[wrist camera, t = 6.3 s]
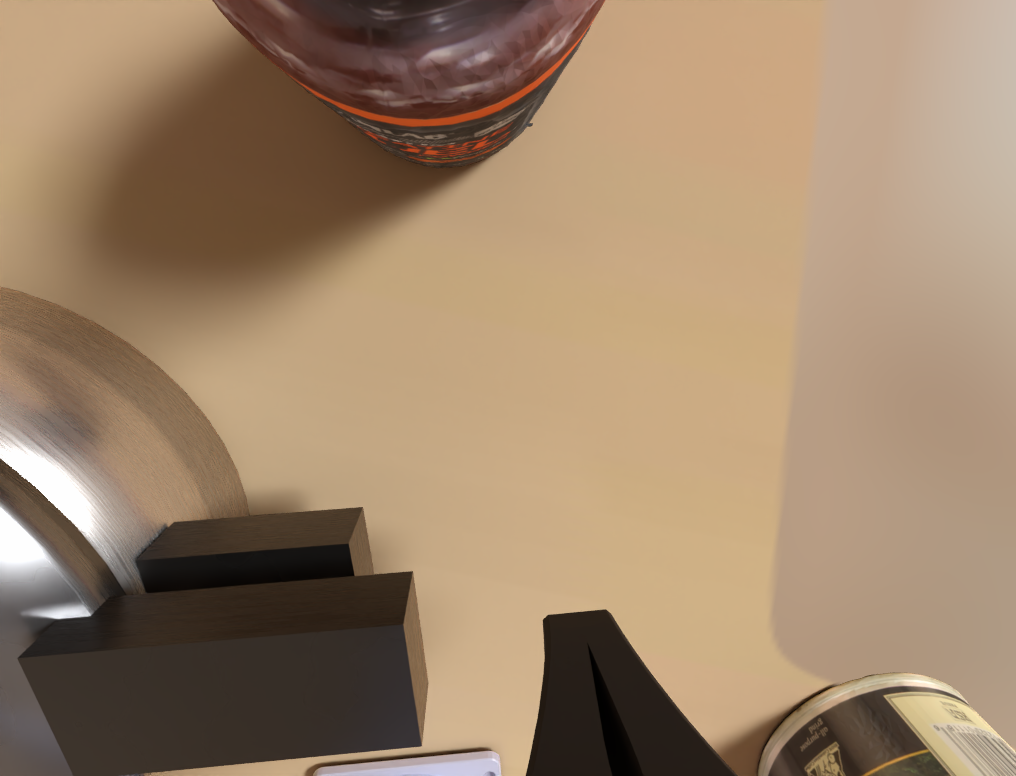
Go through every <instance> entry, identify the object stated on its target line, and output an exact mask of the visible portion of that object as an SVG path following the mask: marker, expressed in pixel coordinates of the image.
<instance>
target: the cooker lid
mask: <svg viewBox="0 0 1016 776" xmlns="http://www.w3.org/2000/svg"><path fill="white" fill-rule="evenodd" d="M427 691H428V678H427V670H426V663H425V656H424V649H423V641H422V634H421V627H420V620H419V612H418V605H417V598H416V591H415V583H414V576H413V571H411V572H399V573H387V574H375V575H363V576H351V577H339V578H327V579H315V580H303V581H291V582H279V583H267V584H255V585H243V586H231V587H219V588H207V589H195V590H183V591H171V592H159V593H147V594H135V595H126V593H125V592H124V590H123V589H122V587H121V585H120V584H119V582H118V581H117V579H116V577H115V576H114V574H113V573H112V571H111V570H110V568H109V566H108V565H107V564H106V562H105V561H104V560H103V559H102V557H101V556H100V555H99V554H98V553H97V551H96V550H95V549H94V548H93V546H92V545H91V544H90V543H89V542H88V540H87V539H86V538H85V537H84V536H83V534H82V533H81V532H80V531H79V529H78V528H77V527H76V526H75V525H74V524H73V523H72V522H71V521H70V520H69V519H68V518H67V517H66V516H65V515H64V514H63V513H62V512H61V511H60V510H59V509H58V508H57V507H56V506H55V505H54V504H53V503H52V502H51V501H50V500H49V499H48V498H47V497H46V496H45V495H44V494H43V493H41V492H40V491H39V490H38V489H37V488H36V487H35V486H34V485H33V484H32V483H31V482H29V481H28V480H27V479H26V478H24V477H23V476H22V475H21V474H19V473H18V472H17V471H15V470H14V469H13V468H12V467H10V466H9V465H8V464H7V463H5V462H4V461H3V460H2V459H0V776H150V774H151V773H152V772H162V771H172V770H183V769H193V768H203V767H214V766H224V765H234V764H244V763H255V762H265V761H275V760H286V759H296V758H306V757H317V756H327V755H337V754H347V753H358V752H368V751H378V750H389V749H399V748H409V747H420V746H422V739H423V730H424V720H425V710H426V700H427Z"/></svg>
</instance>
